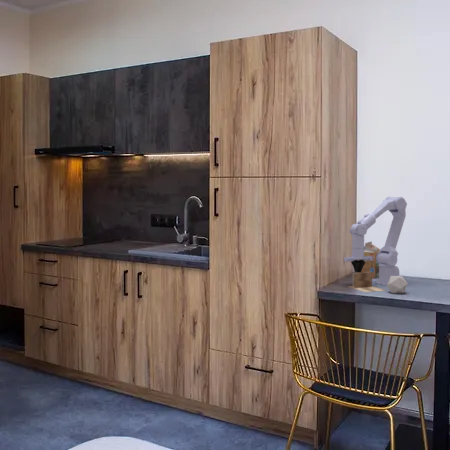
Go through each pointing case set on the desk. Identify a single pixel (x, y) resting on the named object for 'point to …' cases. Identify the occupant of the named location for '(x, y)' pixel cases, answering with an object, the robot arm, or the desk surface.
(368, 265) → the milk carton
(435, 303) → the desk surface
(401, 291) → the die
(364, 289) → the light wood board
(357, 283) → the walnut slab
